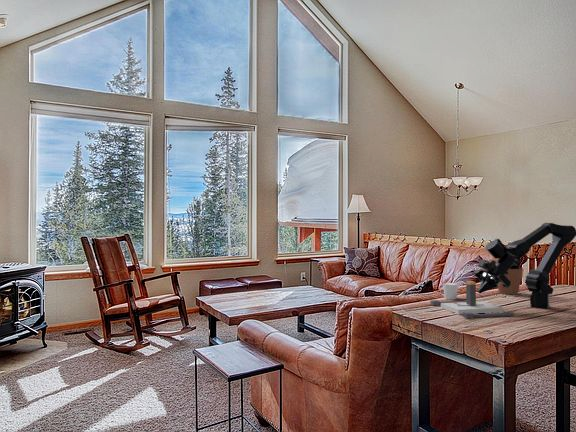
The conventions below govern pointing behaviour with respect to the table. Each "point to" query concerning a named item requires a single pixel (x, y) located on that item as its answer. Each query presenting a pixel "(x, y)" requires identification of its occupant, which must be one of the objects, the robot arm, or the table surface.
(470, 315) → the pair of grey rods
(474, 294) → the breaker lever
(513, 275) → the potted plant
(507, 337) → the table surface
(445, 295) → the white cup
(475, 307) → the breaker panel
